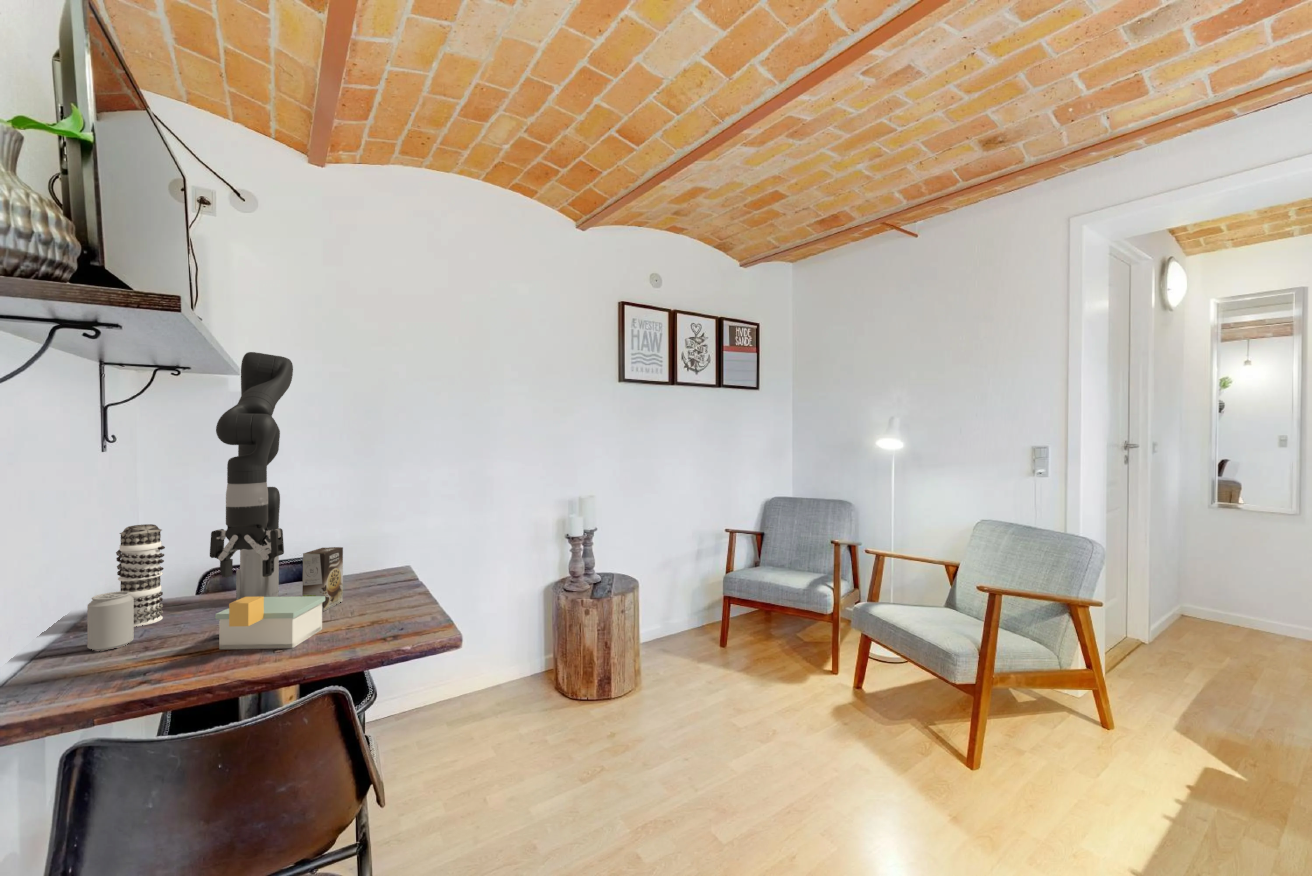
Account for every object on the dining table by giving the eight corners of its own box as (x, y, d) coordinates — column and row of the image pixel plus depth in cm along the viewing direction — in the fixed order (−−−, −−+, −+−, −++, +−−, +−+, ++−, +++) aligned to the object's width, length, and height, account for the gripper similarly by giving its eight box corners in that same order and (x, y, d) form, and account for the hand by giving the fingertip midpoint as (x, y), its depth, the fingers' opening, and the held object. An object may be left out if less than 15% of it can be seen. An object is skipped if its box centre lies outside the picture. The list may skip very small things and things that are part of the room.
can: (104, 654, 120) (104, 600, 120) (78, 651, 121) (78, 598, 121) (142, 641, 127) (142, 590, 127) (117, 639, 129) (117, 588, 129)
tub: (219, 649, 123) (219, 618, 123) (255, 630, 135) (255, 602, 135) (292, 648, 124) (292, 617, 124) (322, 629, 136) (322, 601, 136)
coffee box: (324, 611, 149) (324, 553, 149) (301, 611, 149) (301, 553, 149) (343, 601, 159) (344, 546, 159) (322, 601, 159) (322, 546, 159)
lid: (197, 630, 117) (197, 603, 117) (254, 605, 135) (255, 581, 135) (279, 629, 118) (279, 602, 118) (325, 604, 136) (325, 581, 136)
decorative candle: (141, 615, 146) (141, 522, 146) (174, 616, 145) (174, 523, 145) (105, 627, 136) (105, 528, 136) (140, 628, 136) (140, 528, 136)
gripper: (291, 501, 124) (290, 572, 124) (226, 501, 124) (226, 572, 124) (269, 505, 117) (269, 580, 117) (200, 505, 116) (200, 581, 116)
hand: (247, 576), depth 120 cm, fingers open, 8 cm apart
